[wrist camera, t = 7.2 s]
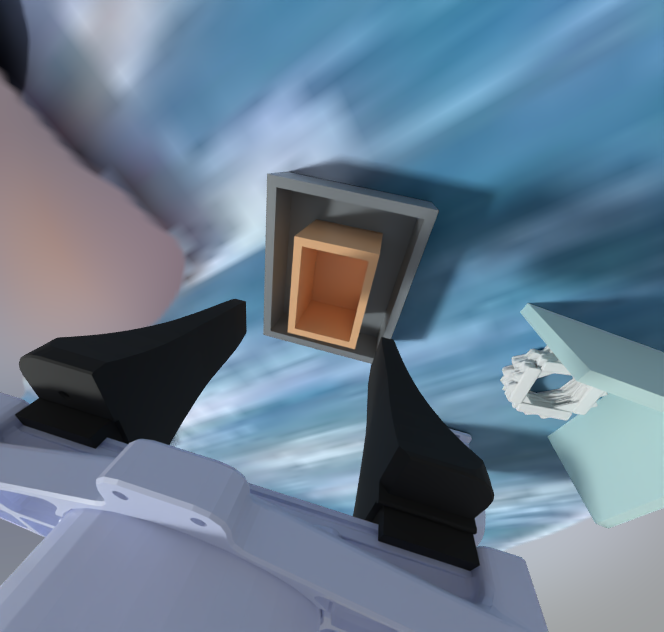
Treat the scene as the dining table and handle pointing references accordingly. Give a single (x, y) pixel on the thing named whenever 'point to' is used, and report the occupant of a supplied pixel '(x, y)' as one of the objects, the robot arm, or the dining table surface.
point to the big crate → (351, 210)
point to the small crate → (332, 281)
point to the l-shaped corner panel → (598, 412)
